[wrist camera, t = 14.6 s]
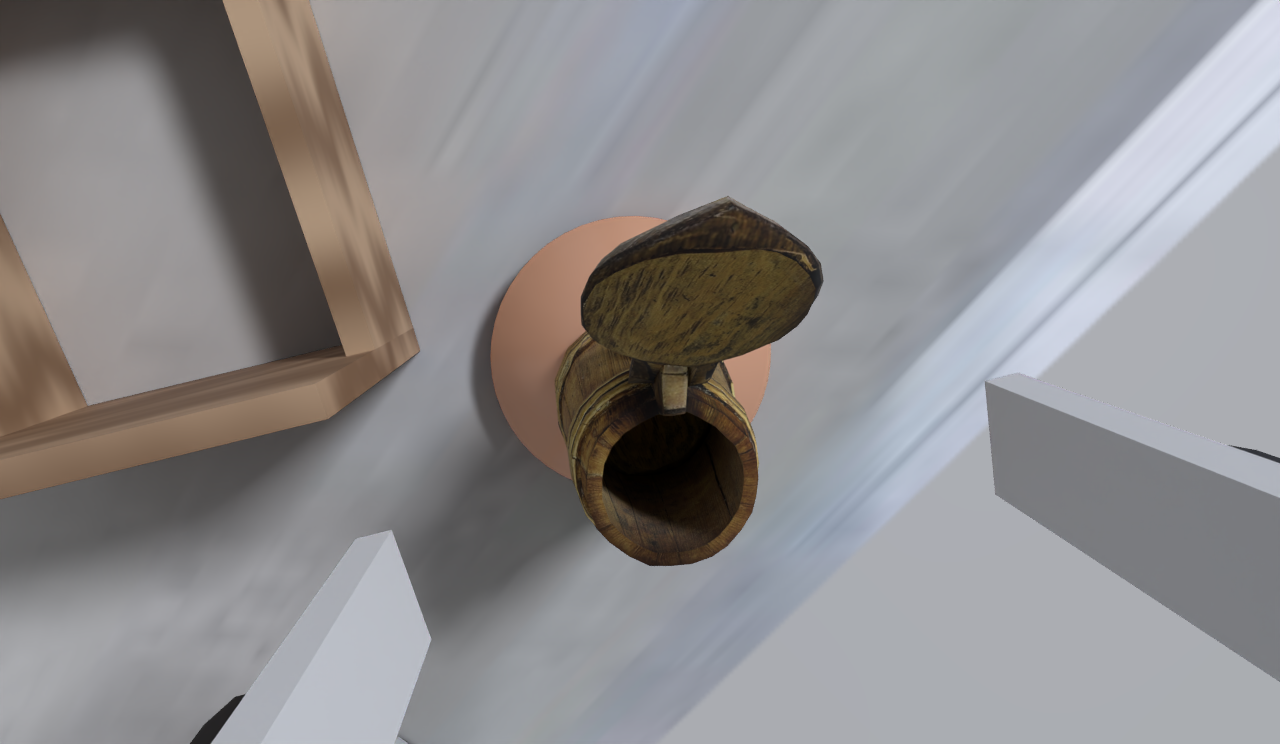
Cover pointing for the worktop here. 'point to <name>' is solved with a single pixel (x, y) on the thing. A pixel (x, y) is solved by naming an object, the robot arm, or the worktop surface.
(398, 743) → the small box
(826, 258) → the worktop surface
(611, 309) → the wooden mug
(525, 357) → the peach round disc
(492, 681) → the worktop surface
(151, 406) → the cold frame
